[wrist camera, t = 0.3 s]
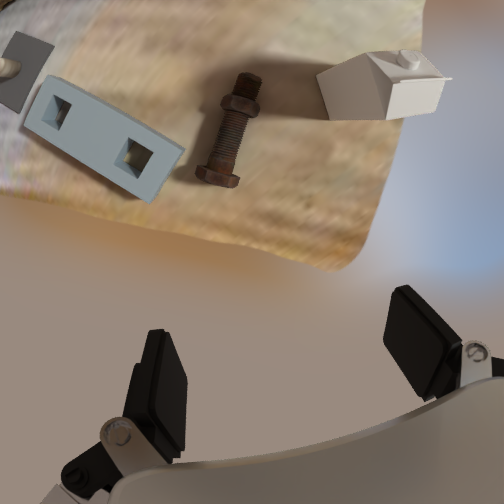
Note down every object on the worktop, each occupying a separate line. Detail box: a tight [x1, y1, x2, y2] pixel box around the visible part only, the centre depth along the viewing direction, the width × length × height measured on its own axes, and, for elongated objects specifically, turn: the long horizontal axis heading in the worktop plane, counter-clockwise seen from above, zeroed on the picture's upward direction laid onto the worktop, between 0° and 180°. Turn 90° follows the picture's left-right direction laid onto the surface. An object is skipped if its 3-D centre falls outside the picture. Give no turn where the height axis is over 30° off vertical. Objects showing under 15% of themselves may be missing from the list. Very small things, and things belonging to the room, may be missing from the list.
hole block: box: [24, 75, 186, 204], centre depth 31 cm, size 24×8×4 cm, turn 54°
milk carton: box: [316, 50, 452, 121], centre depth 26 cm, size 7×7×19 cm
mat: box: [0, 31, 55, 113], centre depth 25 cm, size 12×12×1 cm
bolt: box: [195, 72, 262, 188], centre depth 33 cm, size 6×5×15 cm
